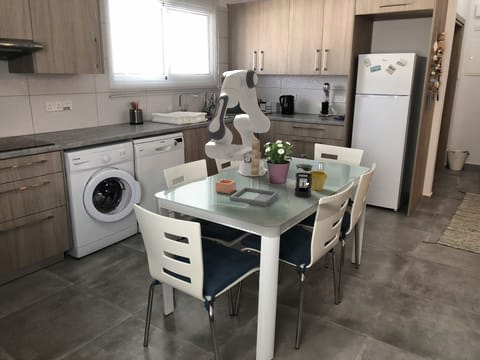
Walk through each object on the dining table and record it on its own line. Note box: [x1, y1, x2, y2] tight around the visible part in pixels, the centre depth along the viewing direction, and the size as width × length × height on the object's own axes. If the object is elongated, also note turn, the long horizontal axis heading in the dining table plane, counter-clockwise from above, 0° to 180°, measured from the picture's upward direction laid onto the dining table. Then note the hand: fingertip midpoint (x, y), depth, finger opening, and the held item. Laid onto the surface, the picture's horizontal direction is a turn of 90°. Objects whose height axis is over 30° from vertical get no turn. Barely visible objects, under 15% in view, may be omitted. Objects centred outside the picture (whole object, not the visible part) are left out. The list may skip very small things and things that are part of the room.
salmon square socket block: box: [215, 178, 237, 194], centre depth 223 cm, size 8×8×6 cm
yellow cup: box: [308, 170, 328, 191], centre depth 232 cm, size 10×10×10 cm
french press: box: [293, 153, 314, 199], centre depth 217 cm, size 12×9×23 cm
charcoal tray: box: [229, 186, 279, 207], centre depth 213 cm, size 20×20×2 cm
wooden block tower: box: [251, 139, 261, 175], centre depth 207 cm, size 4×4×18 cm
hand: (257, 155), depth 206 cm, fingers closed on wooden block tower, 4 cm apart
